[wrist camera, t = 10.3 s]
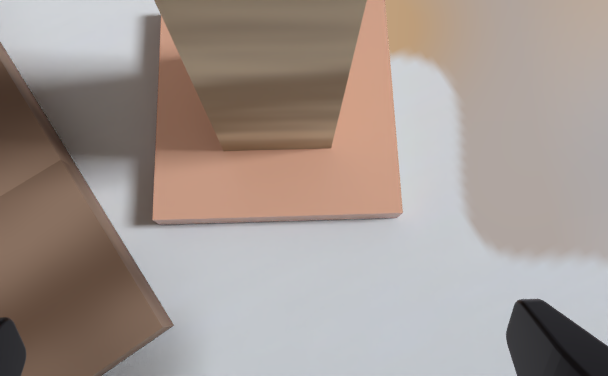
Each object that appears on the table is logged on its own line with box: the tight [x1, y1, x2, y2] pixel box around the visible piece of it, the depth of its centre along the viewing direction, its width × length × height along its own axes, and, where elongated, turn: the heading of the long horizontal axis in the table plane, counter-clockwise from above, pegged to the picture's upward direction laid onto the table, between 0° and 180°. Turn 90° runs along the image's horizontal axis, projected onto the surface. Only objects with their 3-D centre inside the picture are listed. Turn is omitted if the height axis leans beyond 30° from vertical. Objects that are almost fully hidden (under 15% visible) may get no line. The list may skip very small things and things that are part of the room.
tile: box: [152, 0, 403, 225], centre depth 19 cm, size 9×9×1 cm
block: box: [155, 0, 367, 151], centre depth 12 cm, size 4×4×12 cm
